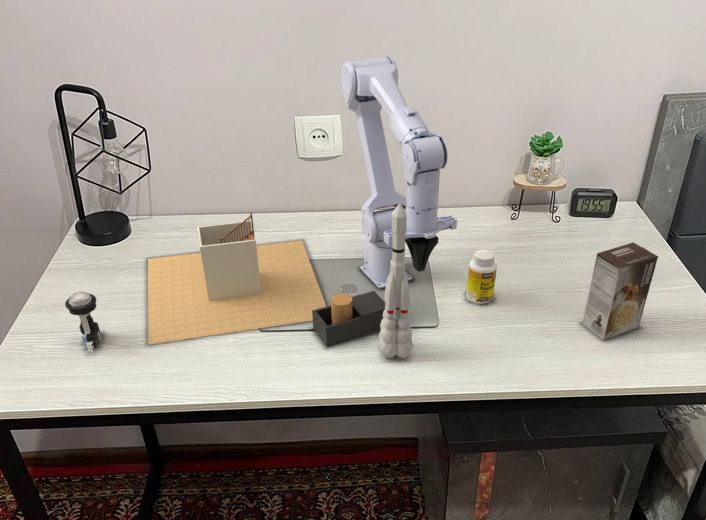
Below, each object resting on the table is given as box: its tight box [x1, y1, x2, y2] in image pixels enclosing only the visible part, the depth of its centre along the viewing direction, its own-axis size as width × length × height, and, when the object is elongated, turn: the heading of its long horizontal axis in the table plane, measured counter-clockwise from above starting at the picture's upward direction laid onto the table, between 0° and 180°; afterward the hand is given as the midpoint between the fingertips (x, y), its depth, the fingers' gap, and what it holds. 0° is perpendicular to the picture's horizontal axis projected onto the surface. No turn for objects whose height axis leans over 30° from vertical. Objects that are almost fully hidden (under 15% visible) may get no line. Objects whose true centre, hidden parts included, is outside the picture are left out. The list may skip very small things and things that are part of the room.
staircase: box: [196, 211, 263, 302], centre depth 142 cm, size 9×11×17 cm
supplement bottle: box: [465, 249, 498, 305], centre depth 141 cm, size 6×6×10 cm
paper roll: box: [330, 293, 353, 325], centre depth 132 cm, size 4×7×4 cm
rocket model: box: [378, 203, 414, 359], centre depth 120 cm, size 7×7×30 cm
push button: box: [64, 291, 102, 352], centre depth 128 cm, size 7×5×10 cm
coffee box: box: [581, 242, 659, 341], centre depth 131 cm, size 9×6×16 cm
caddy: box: [312, 290, 386, 348], centre depth 134 cm, size 7×13×5 cm, turn 117°
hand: (418, 268), depth 134 cm, fingers closed
